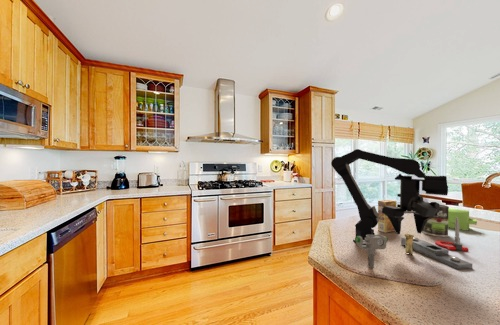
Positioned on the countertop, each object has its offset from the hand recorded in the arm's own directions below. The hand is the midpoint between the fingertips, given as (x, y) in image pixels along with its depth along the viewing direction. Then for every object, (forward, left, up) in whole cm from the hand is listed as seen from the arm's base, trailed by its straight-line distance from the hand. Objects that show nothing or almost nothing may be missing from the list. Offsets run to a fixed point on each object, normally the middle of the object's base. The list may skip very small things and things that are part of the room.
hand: (408, 233), depth 77 cm
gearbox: (+57, +27, -8) cm, 64 cm away
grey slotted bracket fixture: (+8, -3, -8) cm, 11 cm away
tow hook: (+24, +4, -8) cm, 26 cm away
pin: (0, 0, -8) cm, 8 cm away
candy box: (+14, +25, -8) cm, 30 cm away
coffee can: (+35, +19, -8) cm, 41 cm away
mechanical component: (-22, -7, -8) cm, 24 cm away
